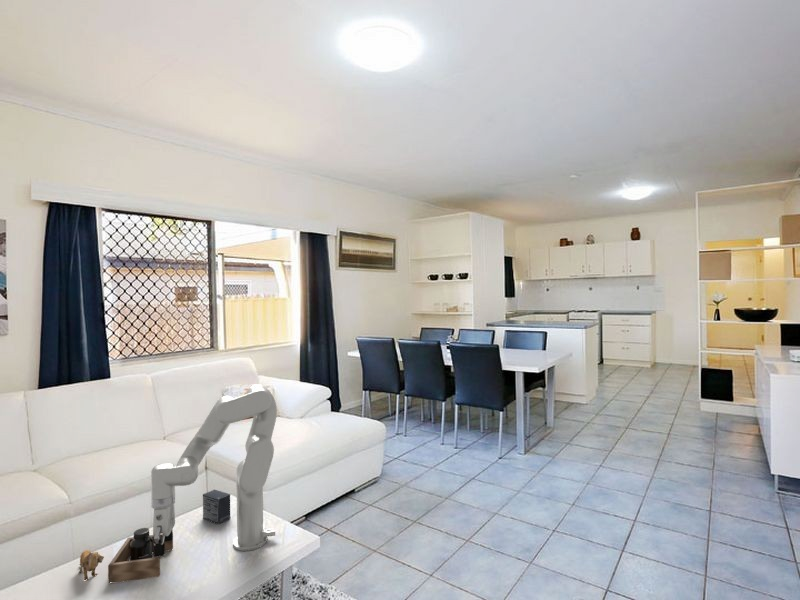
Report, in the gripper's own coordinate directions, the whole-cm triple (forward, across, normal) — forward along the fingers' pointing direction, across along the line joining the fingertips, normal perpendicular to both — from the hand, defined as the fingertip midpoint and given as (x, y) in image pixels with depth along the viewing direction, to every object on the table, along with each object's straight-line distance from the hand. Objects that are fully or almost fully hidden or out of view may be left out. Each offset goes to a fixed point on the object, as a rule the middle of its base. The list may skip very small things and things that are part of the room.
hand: (163, 548), depth 158 cm
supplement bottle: (+5, 0, +7) cm, 9 cm away
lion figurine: (+6, -1, +23) cm, 24 cm away
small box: (+5, +29, -13) cm, 32 cm away
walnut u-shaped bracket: (+5, 0, +6) cm, 8 cm away
